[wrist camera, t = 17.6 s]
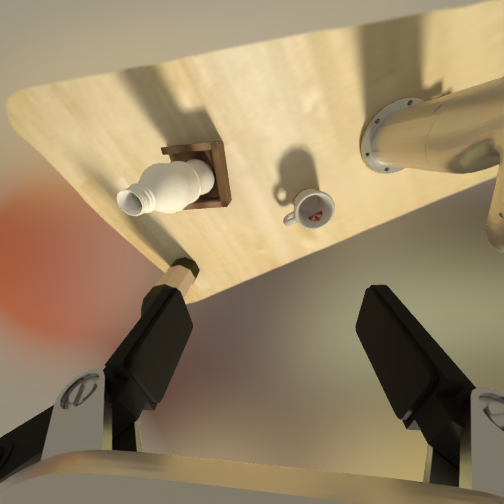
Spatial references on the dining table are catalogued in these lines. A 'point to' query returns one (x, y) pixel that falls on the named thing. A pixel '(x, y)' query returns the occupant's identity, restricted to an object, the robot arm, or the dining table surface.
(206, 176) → the water bottle
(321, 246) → the dining table surface
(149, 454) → the robot arm
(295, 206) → the cup
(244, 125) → the dining table surface
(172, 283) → the wine bottle
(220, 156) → the open wooden box
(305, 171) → the dining table surface
